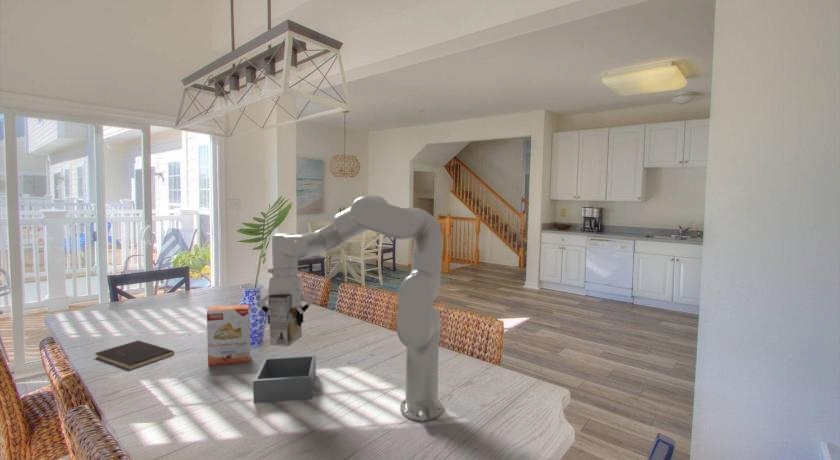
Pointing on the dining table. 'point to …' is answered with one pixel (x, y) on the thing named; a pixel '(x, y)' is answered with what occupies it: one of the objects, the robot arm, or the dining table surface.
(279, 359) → the bin
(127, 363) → the hardcover book
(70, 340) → the dining table surface
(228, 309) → the cracker box
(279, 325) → the coffee box
